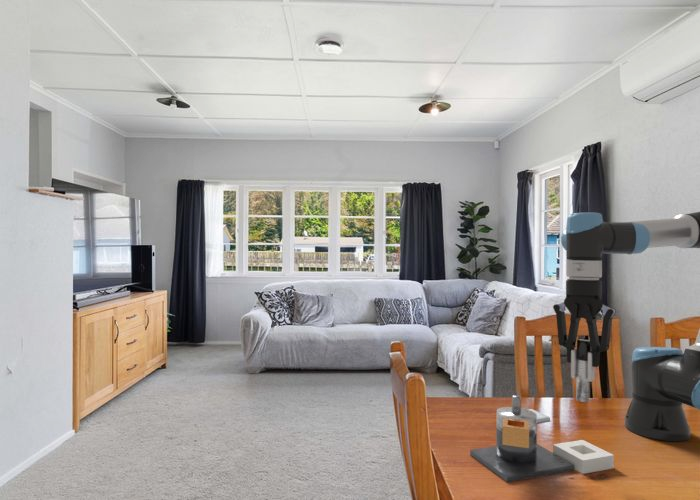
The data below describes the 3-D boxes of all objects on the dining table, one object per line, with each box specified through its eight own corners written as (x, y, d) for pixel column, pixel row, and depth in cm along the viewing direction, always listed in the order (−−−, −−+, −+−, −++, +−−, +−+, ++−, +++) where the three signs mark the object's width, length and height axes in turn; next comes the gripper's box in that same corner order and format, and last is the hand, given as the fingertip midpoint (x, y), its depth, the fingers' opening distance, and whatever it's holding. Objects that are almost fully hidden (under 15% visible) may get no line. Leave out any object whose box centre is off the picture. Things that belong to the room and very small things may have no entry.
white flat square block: (582, 451, 114) (582, 439, 114) (613, 468, 106) (613, 455, 106) (553, 456, 112) (553, 444, 112) (582, 473, 103) (582, 460, 103)
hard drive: (516, 422, 131) (550, 416, 136) (497, 412, 139) (530, 407, 144) (516, 427, 131) (550, 422, 136) (497, 418, 139) (530, 413, 144)
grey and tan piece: (497, 419, 116) (497, 388, 116) (536, 424, 113) (536, 393, 113) (493, 443, 102) (494, 408, 102) (538, 449, 98) (538, 413, 98)
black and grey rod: (578, 397, 111) (580, 339, 111) (591, 401, 109) (593, 340, 109) (572, 399, 109) (574, 339, 109) (586, 402, 107) (588, 341, 107)
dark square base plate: (531, 445, 118) (531, 418, 118) (574, 470, 105) (574, 439, 105) (470, 454, 112) (470, 425, 112) (507, 482, 99) (507, 449, 99)
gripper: (542, 277, 112) (542, 375, 112) (617, 281, 101) (616, 389, 101) (554, 276, 117) (554, 369, 117) (626, 279, 106) (625, 382, 106)
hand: (582, 378), depth 109 cm, fingers closed on black and grey rod, 3 cm apart
